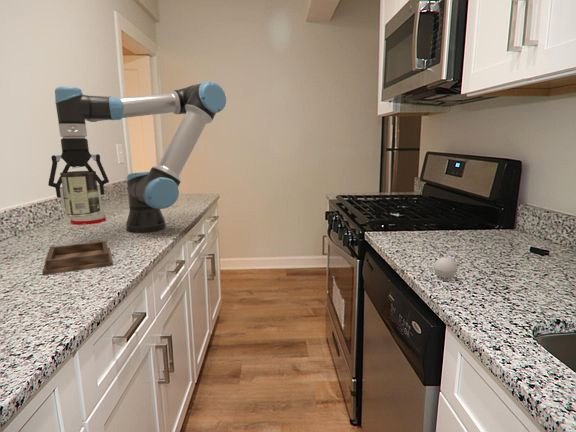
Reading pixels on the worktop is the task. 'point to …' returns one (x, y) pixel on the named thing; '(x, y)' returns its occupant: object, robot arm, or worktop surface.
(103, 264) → the can holder
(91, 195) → the coffee can
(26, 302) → the worktop surface
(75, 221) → the kitchen timer
